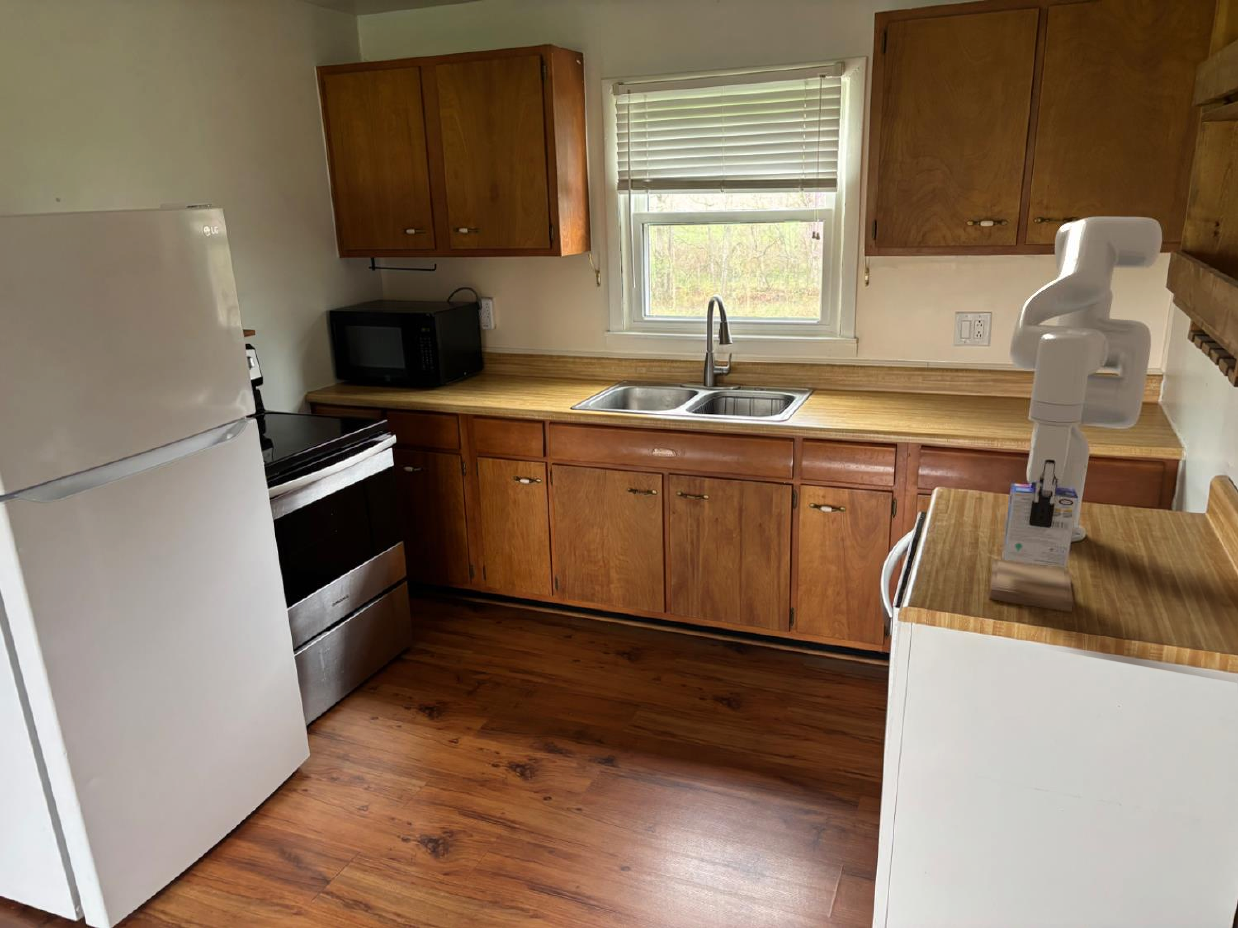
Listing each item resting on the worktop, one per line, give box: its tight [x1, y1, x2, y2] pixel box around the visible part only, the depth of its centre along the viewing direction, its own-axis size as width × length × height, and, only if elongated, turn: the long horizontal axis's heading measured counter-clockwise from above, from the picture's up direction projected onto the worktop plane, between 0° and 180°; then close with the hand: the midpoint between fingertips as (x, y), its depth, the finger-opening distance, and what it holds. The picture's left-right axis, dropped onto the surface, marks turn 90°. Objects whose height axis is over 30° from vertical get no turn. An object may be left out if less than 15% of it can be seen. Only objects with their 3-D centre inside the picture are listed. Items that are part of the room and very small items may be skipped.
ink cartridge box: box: [1001, 482, 1078, 569], centre depth 145 cm, size 10×6×14 cm, turn 70°
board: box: [989, 558, 1074, 613], centre depth 149 cm, size 14×12×2 cm
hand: (1039, 519), depth 145 cm, fingers closed on ink cartridge box, 5 cm apart
